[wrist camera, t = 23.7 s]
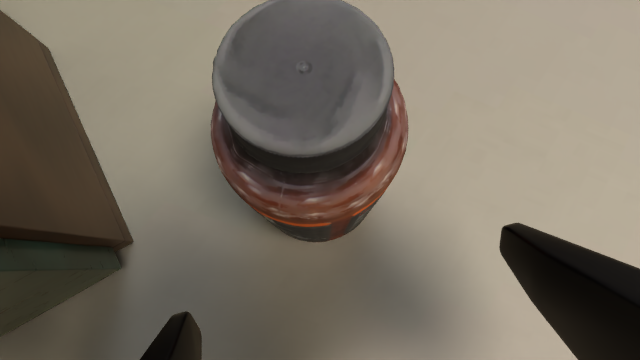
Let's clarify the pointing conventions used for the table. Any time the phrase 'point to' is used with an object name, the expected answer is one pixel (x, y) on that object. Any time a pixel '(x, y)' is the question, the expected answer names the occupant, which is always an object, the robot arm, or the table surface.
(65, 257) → the drawer
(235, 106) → the supplement bottle
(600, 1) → the table surface
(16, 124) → the cabinet
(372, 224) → the table surface
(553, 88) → the table surface
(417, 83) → the table surface
